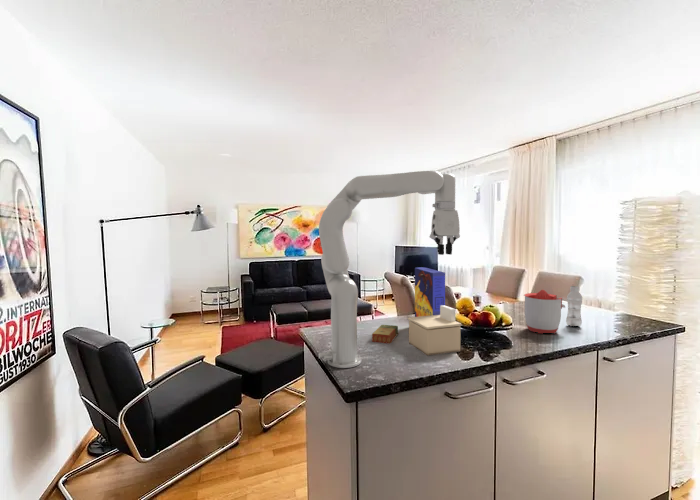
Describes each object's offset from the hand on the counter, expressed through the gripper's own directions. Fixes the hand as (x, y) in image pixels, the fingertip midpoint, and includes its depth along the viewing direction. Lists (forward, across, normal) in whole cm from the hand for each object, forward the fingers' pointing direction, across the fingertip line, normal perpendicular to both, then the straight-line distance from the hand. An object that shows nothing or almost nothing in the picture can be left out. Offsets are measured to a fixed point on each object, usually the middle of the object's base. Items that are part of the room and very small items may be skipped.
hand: (444, 254), depth 132 cm
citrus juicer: (+39, +61, +10) cm, 73 cm away
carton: (+40, -14, +26) cm, 49 cm away
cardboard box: (+39, 0, +7) cm, 40 cm away
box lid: (+29, -1, +7) cm, 30 cm away
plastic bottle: (+39, +81, +11) cm, 91 cm away
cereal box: (+39, +9, +27) cm, 49 cm away
